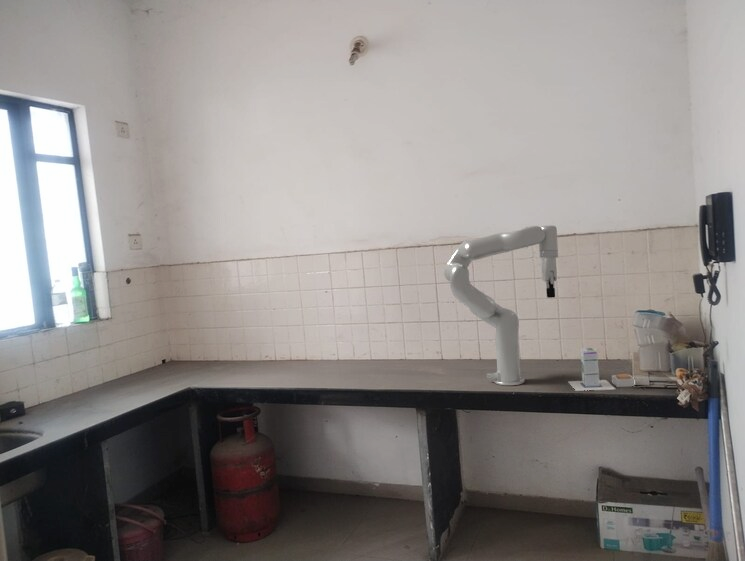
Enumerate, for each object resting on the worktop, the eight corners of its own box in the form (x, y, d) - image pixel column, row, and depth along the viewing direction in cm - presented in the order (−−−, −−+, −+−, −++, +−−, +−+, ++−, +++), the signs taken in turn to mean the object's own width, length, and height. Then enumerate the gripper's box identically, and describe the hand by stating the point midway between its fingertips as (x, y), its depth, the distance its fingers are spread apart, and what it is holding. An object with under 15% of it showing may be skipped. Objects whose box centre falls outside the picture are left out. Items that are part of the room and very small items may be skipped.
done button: (619, 383, 221) (619, 376, 221) (616, 380, 225) (616, 374, 225) (630, 382, 220) (630, 376, 220) (627, 380, 224) (627, 373, 224)
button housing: (617, 387, 220) (616, 379, 219) (612, 382, 227) (611, 375, 226) (635, 386, 219) (635, 378, 219) (630, 381, 226) (629, 374, 225)
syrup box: (600, 386, 221) (598, 350, 220) (584, 386, 222) (582, 351, 221) (596, 382, 227) (594, 347, 226) (581, 383, 228) (579, 348, 227)
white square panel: (575, 391, 218) (575, 390, 218) (568, 382, 232) (568, 381, 232) (615, 389, 216) (615, 388, 216) (605, 380, 230) (605, 379, 230)
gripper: (537, 254, 246) (539, 296, 247) (542, 255, 231) (544, 299, 232) (554, 253, 245) (556, 295, 246) (561, 254, 230) (563, 298, 231)
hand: (551, 297), depth 239 cm, fingers closed
